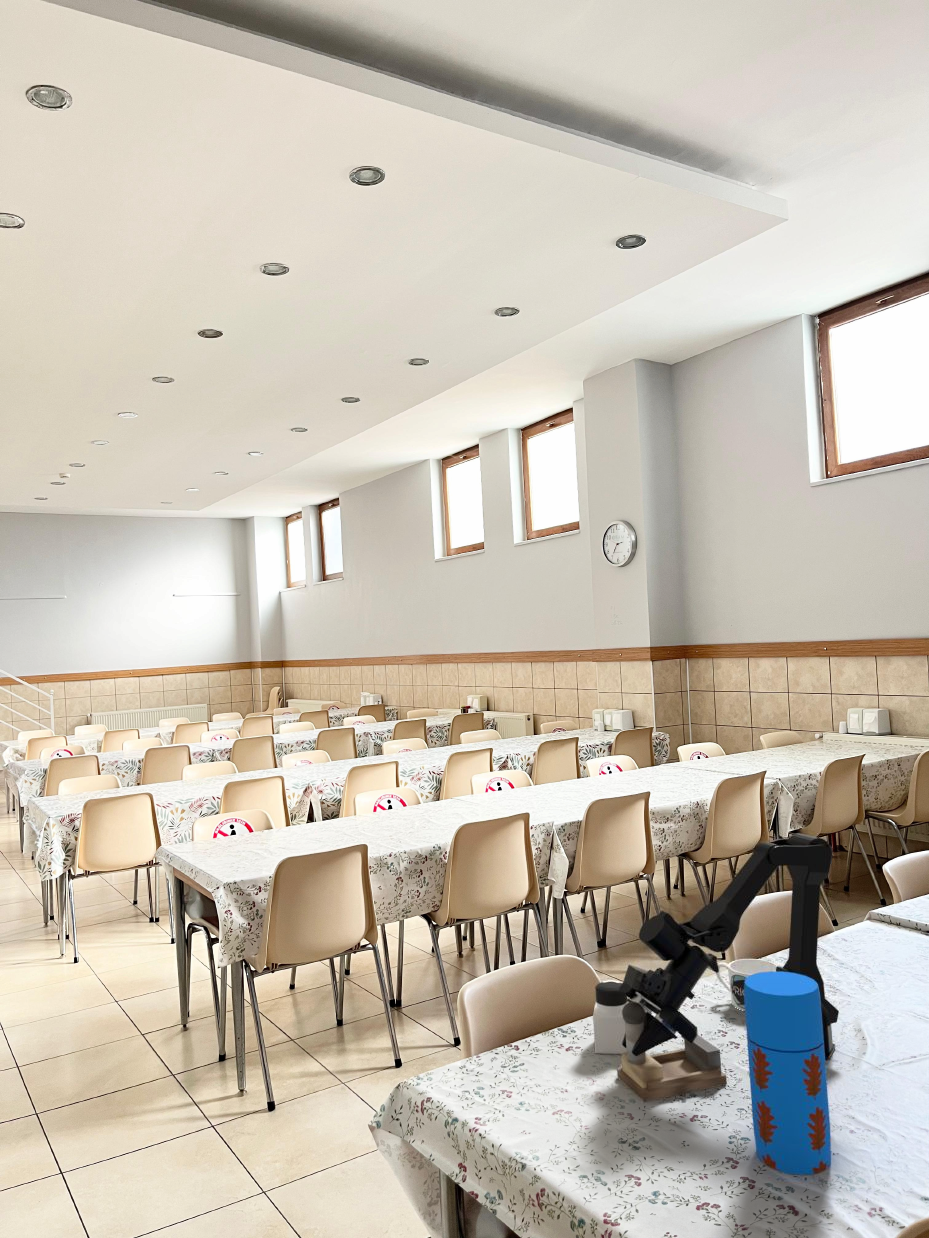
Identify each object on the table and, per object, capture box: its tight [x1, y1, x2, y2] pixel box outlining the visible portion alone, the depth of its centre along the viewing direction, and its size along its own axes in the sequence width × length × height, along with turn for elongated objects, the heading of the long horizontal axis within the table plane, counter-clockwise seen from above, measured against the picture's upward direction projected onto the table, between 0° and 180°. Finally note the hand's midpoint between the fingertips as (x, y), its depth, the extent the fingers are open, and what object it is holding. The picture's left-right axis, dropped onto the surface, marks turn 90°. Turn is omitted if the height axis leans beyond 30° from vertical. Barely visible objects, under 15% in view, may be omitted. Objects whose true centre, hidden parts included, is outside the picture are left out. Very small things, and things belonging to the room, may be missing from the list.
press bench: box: [616, 1034, 728, 1103], centre depth 159 cm, size 16×10×6 cm, turn 107°
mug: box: [715, 958, 778, 1012], centre depth 193 cm, size 13×10×8 cm
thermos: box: [744, 971, 832, 1176], centre depth 134 cm, size 11×11×25 cm
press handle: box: [621, 1002, 664, 1089], centre depth 158 cm, size 5×8×13 cm, turn 17°
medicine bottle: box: [592, 979, 628, 1055], centre depth 175 cm, size 7×7×12 cm
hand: (628, 1050), depth 157 cm, fingers closed on press handle, 3 cm apart
